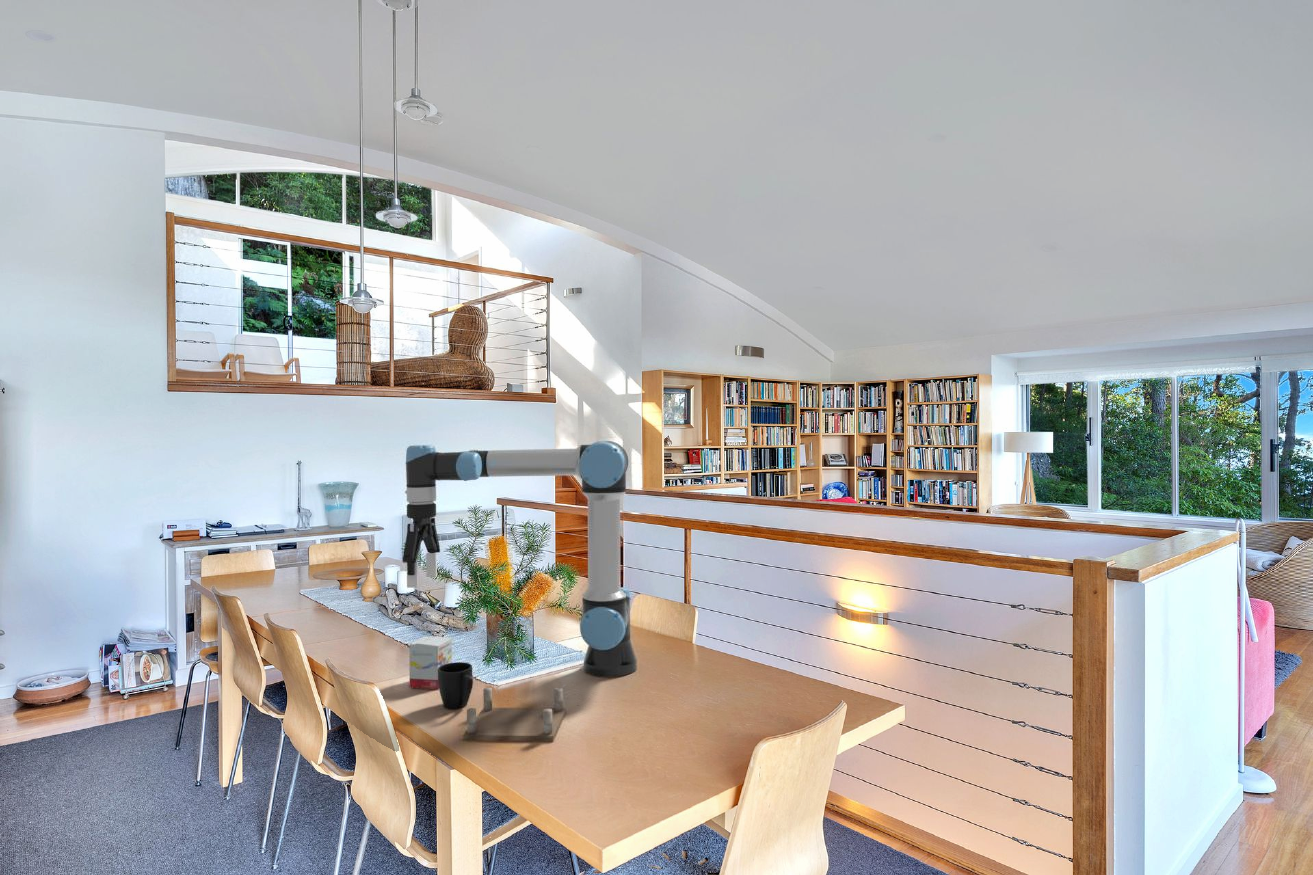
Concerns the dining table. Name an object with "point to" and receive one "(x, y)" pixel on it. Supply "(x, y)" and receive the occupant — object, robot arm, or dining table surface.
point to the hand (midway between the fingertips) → (422, 581)
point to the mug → (455, 684)
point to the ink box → (428, 660)
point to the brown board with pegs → (514, 721)
